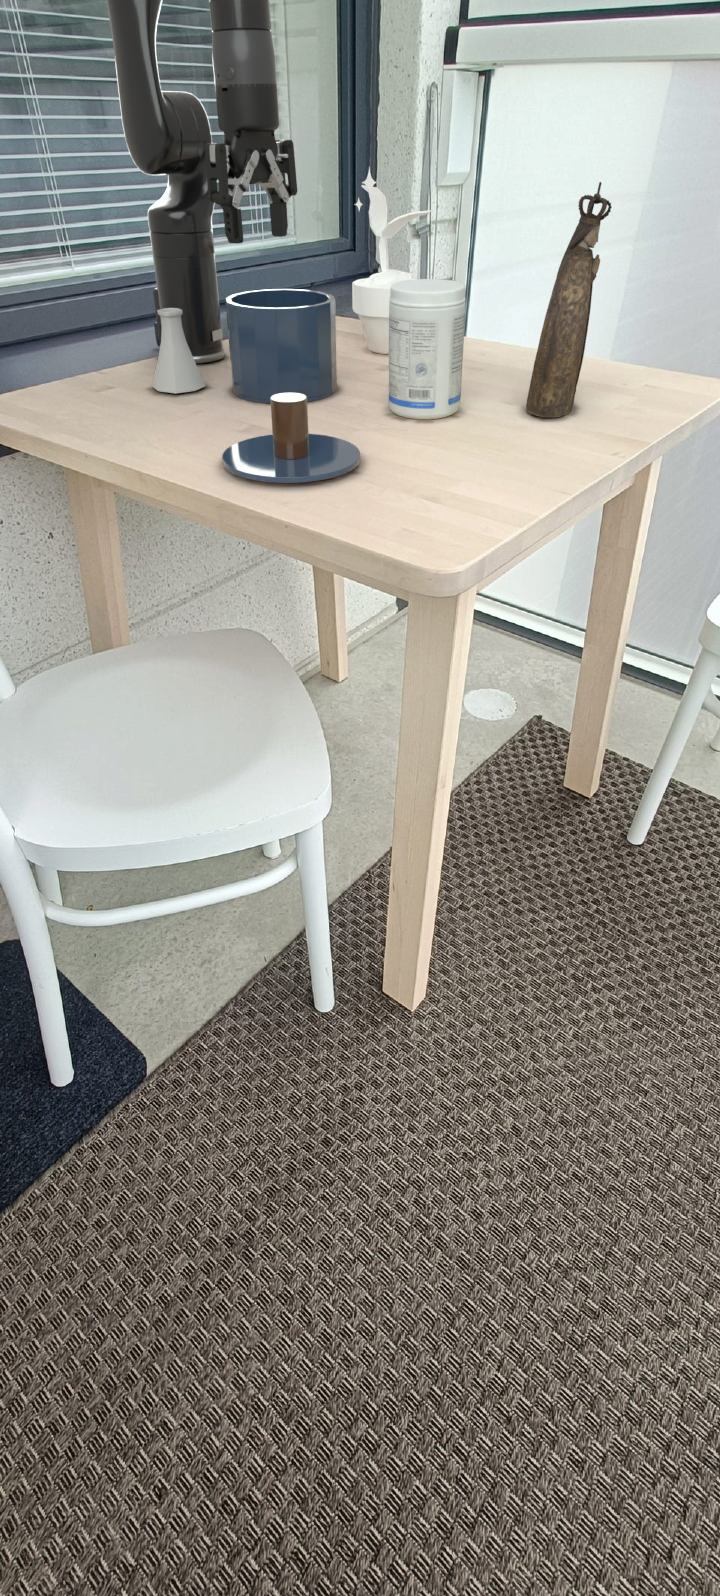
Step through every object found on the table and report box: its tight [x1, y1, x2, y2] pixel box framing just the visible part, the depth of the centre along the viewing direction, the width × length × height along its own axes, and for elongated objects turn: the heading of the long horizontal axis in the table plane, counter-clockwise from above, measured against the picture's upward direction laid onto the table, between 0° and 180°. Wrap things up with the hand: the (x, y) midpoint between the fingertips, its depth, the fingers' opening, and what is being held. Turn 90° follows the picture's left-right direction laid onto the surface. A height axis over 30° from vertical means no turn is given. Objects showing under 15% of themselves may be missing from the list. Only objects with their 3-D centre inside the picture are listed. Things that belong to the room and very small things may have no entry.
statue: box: [525, 181, 612, 419], centre depth 109 cm, size 9×8×25 cm
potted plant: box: [351, 166, 432, 355], centre depth 136 cm, size 13×12×25 cm
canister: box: [224, 288, 338, 404], centre depth 121 cm, size 15×15×12 cm
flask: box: [151, 308, 207, 394], centre depth 122 cm, size 7×7×10 cm
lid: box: [221, 393, 361, 484], centre depth 97 cm, size 16×16×7 cm
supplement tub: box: [388, 278, 467, 420], centre depth 112 cm, size 10×10×15 cm
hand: (258, 239), depth 116 cm, fingers open, 8 cm apart
